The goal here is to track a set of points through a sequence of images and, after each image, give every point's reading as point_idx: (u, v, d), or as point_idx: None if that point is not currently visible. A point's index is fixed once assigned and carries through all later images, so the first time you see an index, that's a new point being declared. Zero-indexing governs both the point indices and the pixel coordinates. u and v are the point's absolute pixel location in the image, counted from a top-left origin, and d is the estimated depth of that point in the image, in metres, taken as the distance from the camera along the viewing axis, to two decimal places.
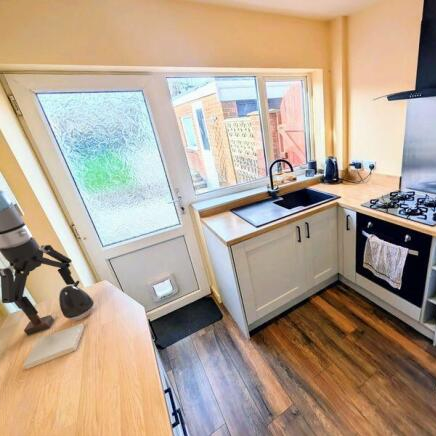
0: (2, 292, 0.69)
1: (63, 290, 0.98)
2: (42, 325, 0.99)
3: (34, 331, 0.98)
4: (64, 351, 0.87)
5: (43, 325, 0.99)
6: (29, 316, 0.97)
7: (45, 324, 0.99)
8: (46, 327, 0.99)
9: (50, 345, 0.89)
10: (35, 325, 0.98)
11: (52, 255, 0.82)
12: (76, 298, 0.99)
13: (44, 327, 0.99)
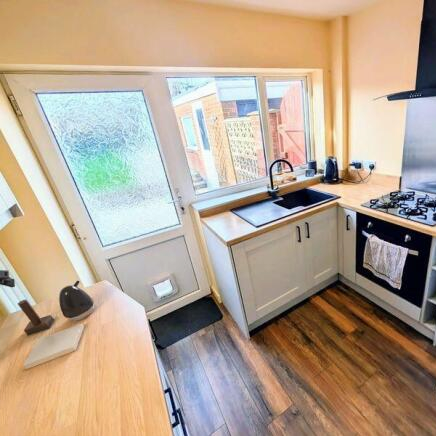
0: None
1: (63, 290, 0.98)
2: (42, 325, 0.99)
3: (34, 331, 0.98)
4: (64, 351, 0.87)
5: (43, 325, 0.99)
6: (29, 316, 0.97)
7: (45, 324, 0.99)
8: (46, 327, 0.99)
9: (50, 345, 0.89)
10: (35, 325, 0.98)
11: None
12: (76, 298, 0.99)
13: (44, 327, 0.99)
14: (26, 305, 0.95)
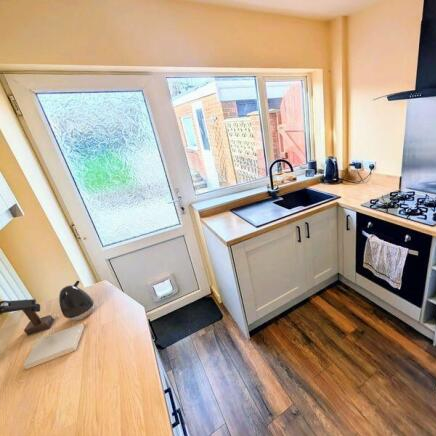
0: None
1: (63, 290, 0.98)
2: (42, 325, 0.99)
3: (34, 331, 0.98)
4: (64, 351, 0.87)
5: (43, 325, 0.99)
6: (29, 316, 0.97)
7: (45, 324, 0.99)
8: (46, 327, 0.99)
9: (50, 345, 0.89)
10: (35, 325, 0.98)
11: None
12: (76, 298, 0.99)
13: (44, 327, 0.99)
14: None
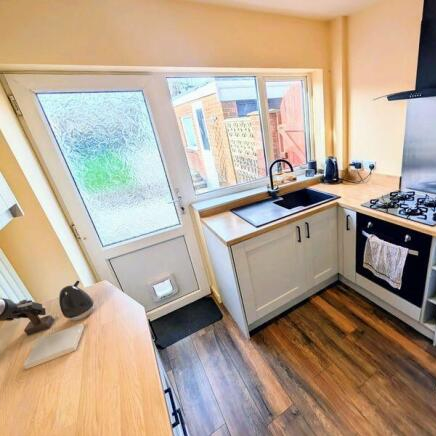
0: None
1: (63, 290, 0.98)
2: (42, 325, 0.99)
3: (34, 331, 0.98)
4: (64, 351, 0.87)
5: (43, 325, 0.99)
6: (29, 316, 0.97)
7: (45, 324, 0.99)
8: (46, 327, 0.99)
9: (50, 345, 0.89)
10: (35, 325, 0.98)
11: None
12: (76, 298, 0.99)
13: (44, 327, 0.99)
14: None
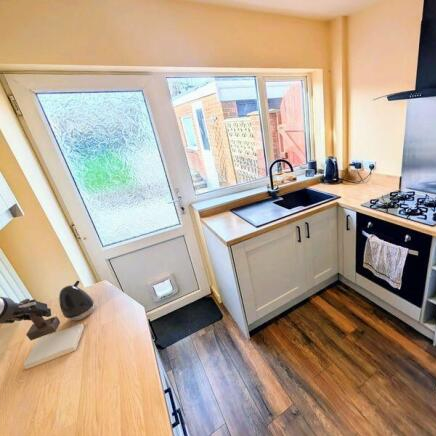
0: None
1: (63, 290, 0.98)
2: (47, 328, 0.85)
3: (38, 335, 0.85)
4: (64, 351, 0.87)
5: (48, 328, 0.86)
6: (32, 318, 0.83)
7: (51, 327, 0.86)
8: (51, 330, 0.86)
9: (50, 345, 0.89)
10: (39, 329, 0.85)
11: None
12: (76, 298, 0.99)
13: (49, 330, 0.86)
14: None
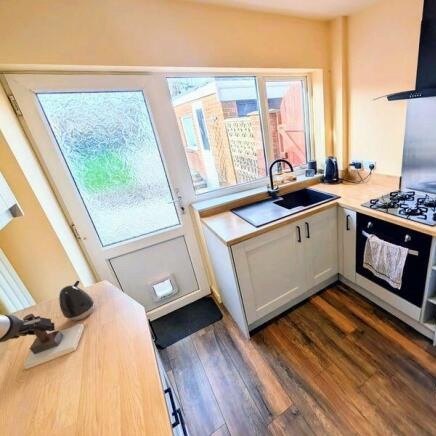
0: None
1: (63, 290, 0.98)
2: (50, 342, 0.87)
3: (41, 349, 0.87)
4: (64, 351, 0.87)
5: (51, 342, 0.87)
6: (36, 332, 0.85)
7: (53, 341, 0.87)
8: (54, 344, 0.88)
9: None
10: (42, 343, 0.86)
11: None
12: (76, 298, 0.99)
13: (52, 345, 0.88)
14: None
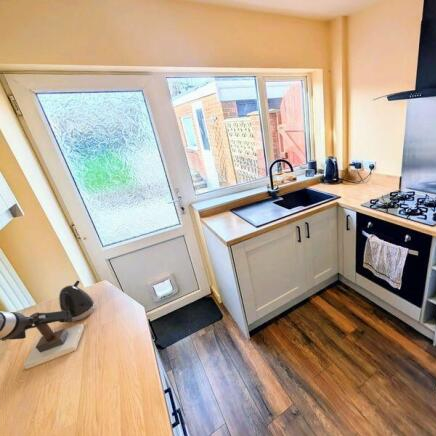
0: None
1: (63, 290, 0.98)
2: (56, 341, 0.88)
3: (47, 348, 0.87)
4: (64, 351, 0.87)
5: (57, 341, 0.88)
6: (42, 331, 0.86)
7: (59, 340, 0.88)
8: (60, 343, 0.89)
9: None
10: (48, 341, 0.87)
11: None
12: (76, 298, 0.99)
13: (58, 343, 0.88)
14: None
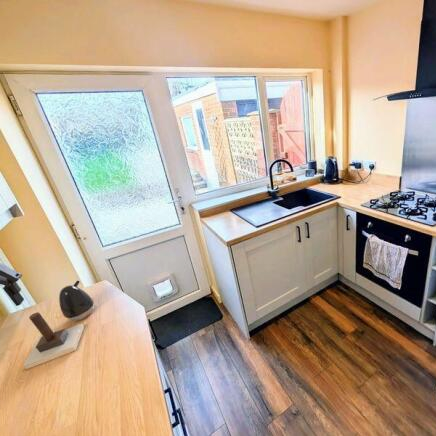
0: None
1: (63, 290, 0.98)
2: (56, 341, 0.88)
3: (47, 348, 0.87)
4: (64, 351, 0.87)
5: (57, 341, 0.88)
6: (42, 331, 0.86)
7: (59, 340, 0.88)
8: (60, 343, 0.89)
9: None
10: (48, 341, 0.87)
11: None
12: (76, 298, 0.99)
13: (58, 343, 0.88)
14: (38, 319, 0.85)
